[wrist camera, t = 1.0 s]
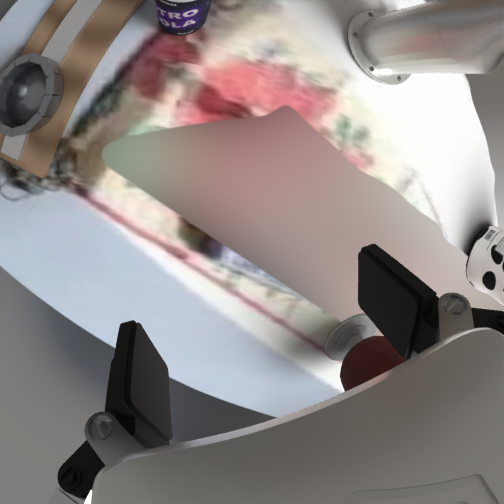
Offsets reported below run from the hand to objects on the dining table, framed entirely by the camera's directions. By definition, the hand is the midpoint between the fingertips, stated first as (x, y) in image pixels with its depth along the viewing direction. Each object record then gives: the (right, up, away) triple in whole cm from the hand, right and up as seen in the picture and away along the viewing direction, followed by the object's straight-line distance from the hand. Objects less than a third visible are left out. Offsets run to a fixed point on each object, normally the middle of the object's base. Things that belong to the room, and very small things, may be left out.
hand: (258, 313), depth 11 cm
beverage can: (-9, +30, +13) cm, 34 cm away
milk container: (+60, +3, +45) cm, 75 cm away
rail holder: (-24, +24, +9) cm, 36 cm away
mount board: (-25, +25, +11) cm, 37 cm away
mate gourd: (+21, -15, +43) cm, 50 cm away
